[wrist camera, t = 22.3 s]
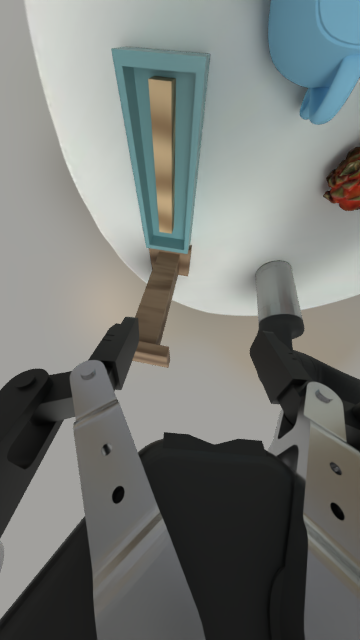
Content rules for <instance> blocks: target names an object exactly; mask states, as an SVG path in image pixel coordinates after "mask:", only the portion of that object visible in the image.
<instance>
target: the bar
mask: <svg viewBox="0 0 360 640" xmlns="http://www.w3.org/2000/svg"><path fill="white" fill-rule="evenodd" d="M148 82H149V96H150V110H151V123H152V137H153V150H154V164H155V177H156V191H157V205H158V218H159V232H164V233H170V234H172V231H173V228H174V201H175V121H176V78H169V77H161V76H153V77H151V78H149V79H148Z"/></svg>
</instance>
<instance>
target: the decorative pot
mask: <svg viewBox="0 0 360 640" xmlns="http://www.w3.org/2000/svg"><path fill="white" fill-rule="evenodd" d="M268 41H269V49H270V54H271V57H272V61H273V63H274V65H275V66H276V68H277V70H278V71H279V72H280V73H281V74H282V75H283V76H284V77H285V78H287V79H288V80H290V81H291V82H293V83H296V84H298V85H300V86H303V87H307V88H308V90H307V92H306V94H305V97H304V99H303V102H302V105H301V109H300V116H301V117H302V118H303V119H309V120H310V121H311V123H313V124H317V125H320V124H324V123H326V122H328V121H330V120H331V119H332V118H333V117H334V116H335V115H336V114H337V112H338V111H339V110H340V109H341V107H342V106H343V104H344V103H345V101H346V100H347V98H348V97H349V95H350V93H351V92H352V90H353V88H354V86H355V85H356V83H357V81H358V79H359V78H360V0H271V4H270V13H269V22H268Z"/></svg>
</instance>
